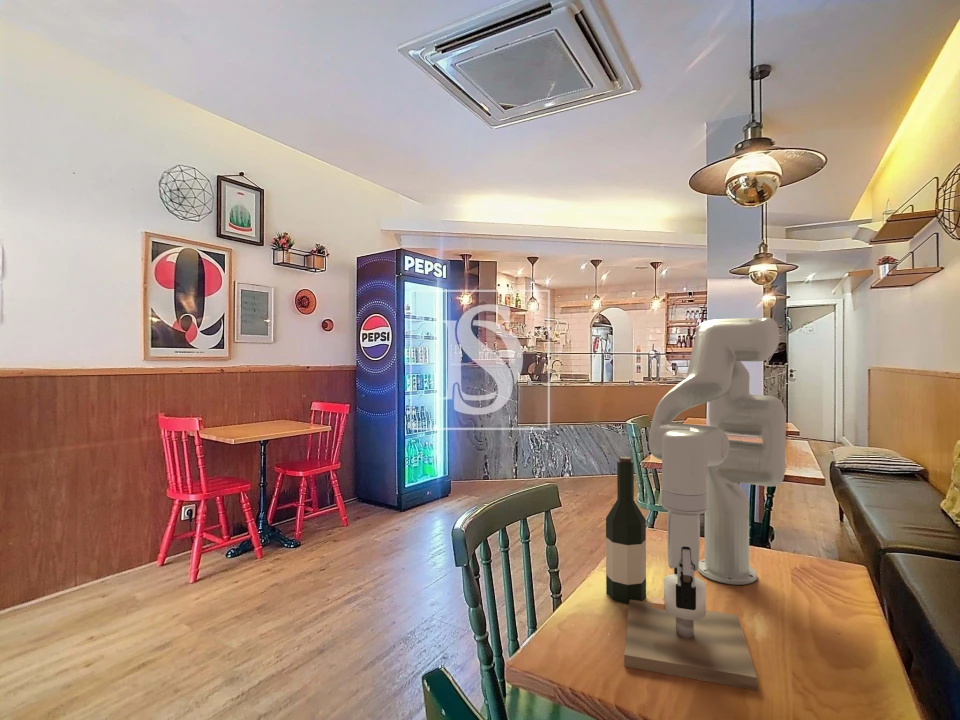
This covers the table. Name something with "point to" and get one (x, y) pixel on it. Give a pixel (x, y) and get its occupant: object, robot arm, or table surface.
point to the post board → (688, 646)
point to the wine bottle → (625, 541)
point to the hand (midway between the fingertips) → (684, 597)
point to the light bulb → (670, 600)
